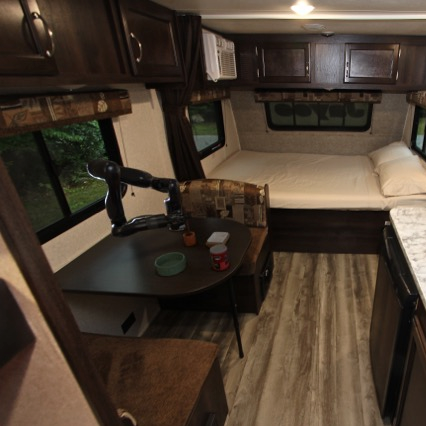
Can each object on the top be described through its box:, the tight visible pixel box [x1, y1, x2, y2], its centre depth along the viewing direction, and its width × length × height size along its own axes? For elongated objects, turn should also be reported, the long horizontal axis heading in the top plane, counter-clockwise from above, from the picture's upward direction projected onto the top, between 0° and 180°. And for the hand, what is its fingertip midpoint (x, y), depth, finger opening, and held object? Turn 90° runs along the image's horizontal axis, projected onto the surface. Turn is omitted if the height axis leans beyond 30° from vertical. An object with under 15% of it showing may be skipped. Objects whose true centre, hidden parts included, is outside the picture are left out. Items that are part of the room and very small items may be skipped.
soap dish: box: [205, 231, 230, 249], centre depth 168 cm, size 12×10×5 cm
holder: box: [183, 231, 197, 247], centre depth 168 cm, size 6×6×6 cm
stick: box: [181, 205, 191, 236], centre depth 163 cm, size 2×2×18 cm
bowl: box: [154, 251, 187, 277], centre depth 147 cm, size 14×14×5 cm
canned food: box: [209, 244, 230, 272], centre depth 147 cm, size 8×8×11 cm
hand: (190, 215), depth 163 cm, fingers closed on stick, 2 cm apart
